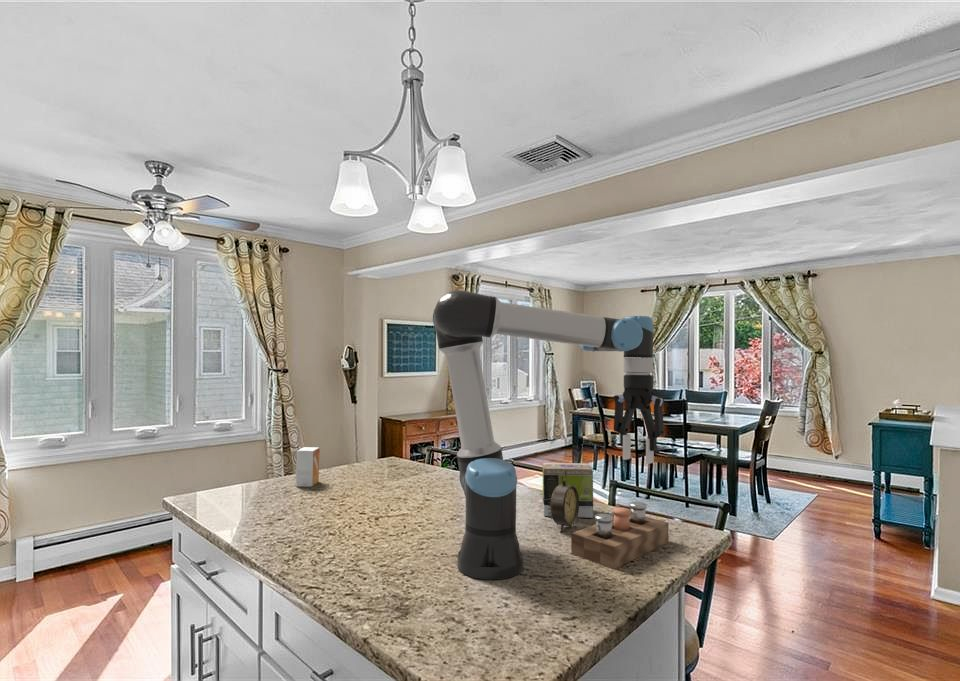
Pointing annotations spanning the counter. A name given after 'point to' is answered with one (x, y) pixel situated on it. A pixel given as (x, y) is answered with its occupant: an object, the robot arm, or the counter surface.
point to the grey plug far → (637, 512)
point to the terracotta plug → (621, 519)
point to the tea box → (577, 477)
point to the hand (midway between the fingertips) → (638, 460)
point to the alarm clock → (564, 504)
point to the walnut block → (619, 543)
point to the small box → (307, 466)
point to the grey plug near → (604, 526)
